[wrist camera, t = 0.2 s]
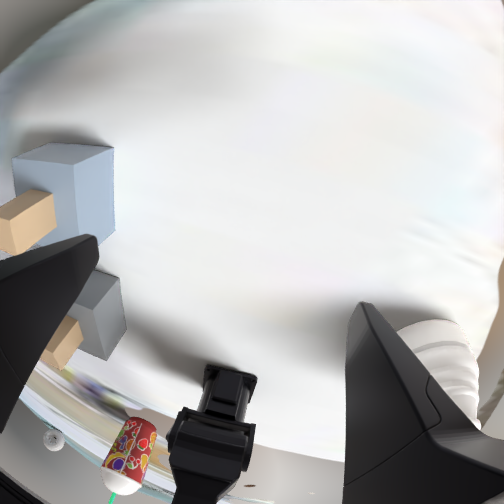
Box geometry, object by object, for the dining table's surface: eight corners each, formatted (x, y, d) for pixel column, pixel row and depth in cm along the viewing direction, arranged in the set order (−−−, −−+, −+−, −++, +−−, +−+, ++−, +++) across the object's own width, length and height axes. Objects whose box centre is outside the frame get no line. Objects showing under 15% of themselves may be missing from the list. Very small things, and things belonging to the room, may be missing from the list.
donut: (52, 427, 80) (42, 445, 72) (48, 423, 79) (37, 442, 70) (70, 437, 79) (60, 456, 71) (66, 433, 77) (55, 452, 69)
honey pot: (368, 397, 34) (373, 523, 19) (362, 334, 28) (375, 506, 13) (457, 375, 30) (484, 493, 15) (472, 306, 25) (532, 453, 9)
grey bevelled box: (126, 329, 34) (87, 393, 25) (76, 310, 34) (33, 364, 26) (119, 278, 30) (65, 346, 21) (64, 259, 30) (8, 314, 21)
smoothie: (121, 407, 48) (83, 490, 31) (161, 422, 47) (127, 510, 30) (128, 423, 52) (95, 497, 35) (163, 437, 52) (135, 515, 35)
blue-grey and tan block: (115, 230, 27) (47, 295, 18) (56, 215, 27) (-10, 266, 18) (113, 147, 22) (24, 189, 14) (51, 142, 23) (-31, 178, 14)
